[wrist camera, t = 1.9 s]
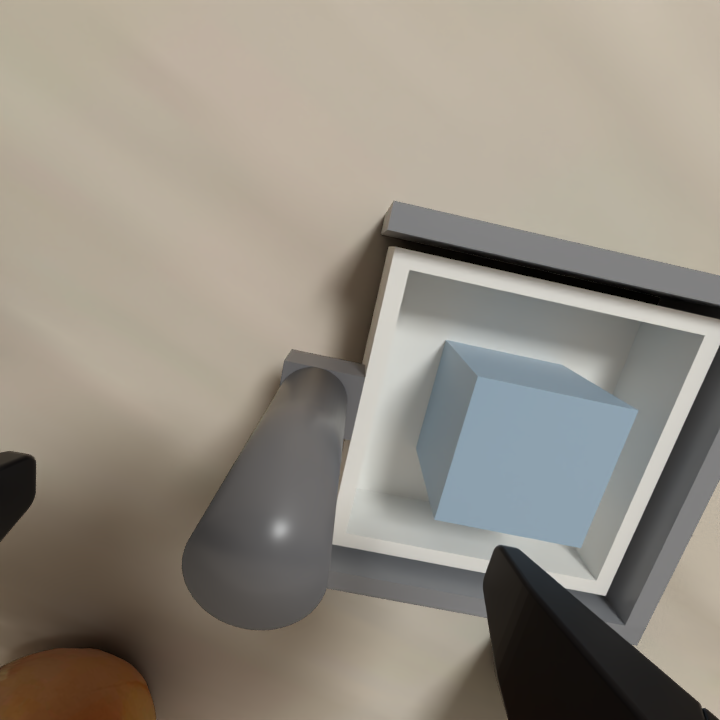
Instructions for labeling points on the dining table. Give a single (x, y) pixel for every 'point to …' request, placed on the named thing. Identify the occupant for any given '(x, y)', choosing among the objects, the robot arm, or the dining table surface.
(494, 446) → the light blue cube
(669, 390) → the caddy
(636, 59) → the dining table surface
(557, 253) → the bay
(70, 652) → the onion
